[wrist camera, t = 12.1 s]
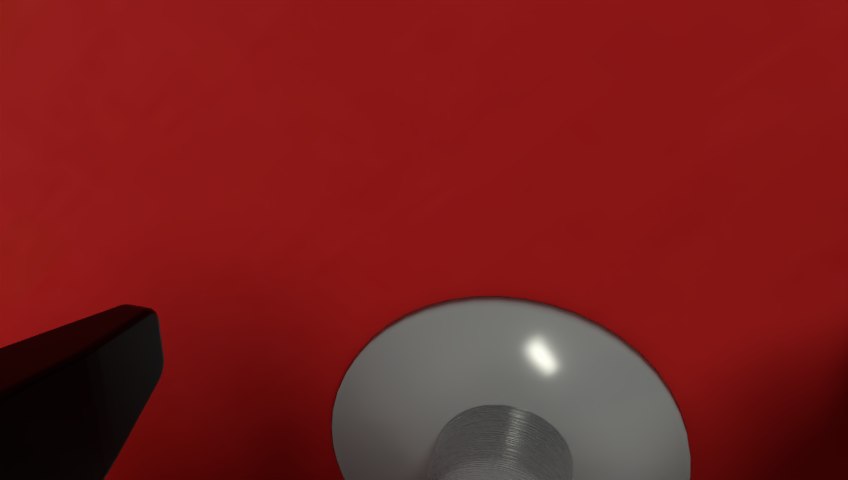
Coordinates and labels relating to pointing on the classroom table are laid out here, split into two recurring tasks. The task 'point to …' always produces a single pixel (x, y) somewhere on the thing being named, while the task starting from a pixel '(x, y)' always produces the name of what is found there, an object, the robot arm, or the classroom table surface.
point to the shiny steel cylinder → (500, 447)
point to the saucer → (506, 390)
